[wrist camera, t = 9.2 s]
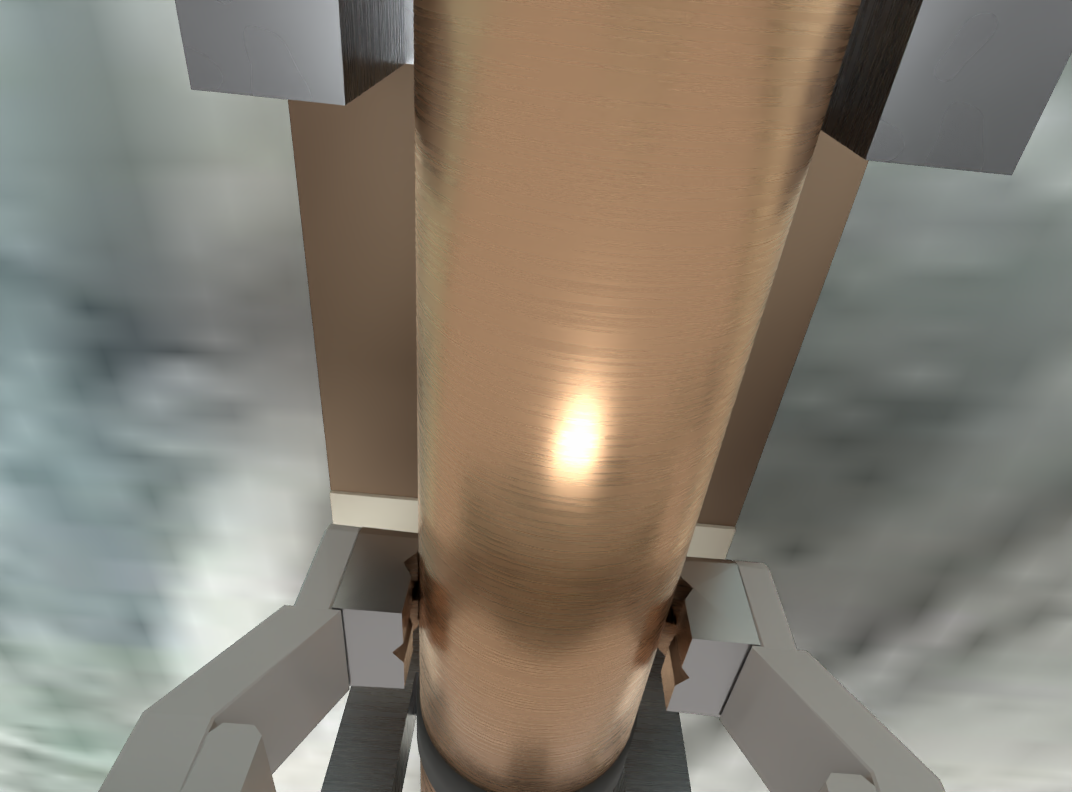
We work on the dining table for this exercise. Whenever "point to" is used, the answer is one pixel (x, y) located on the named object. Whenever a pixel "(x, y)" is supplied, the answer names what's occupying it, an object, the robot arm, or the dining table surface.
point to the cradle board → (390, 307)
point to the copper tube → (584, 343)
